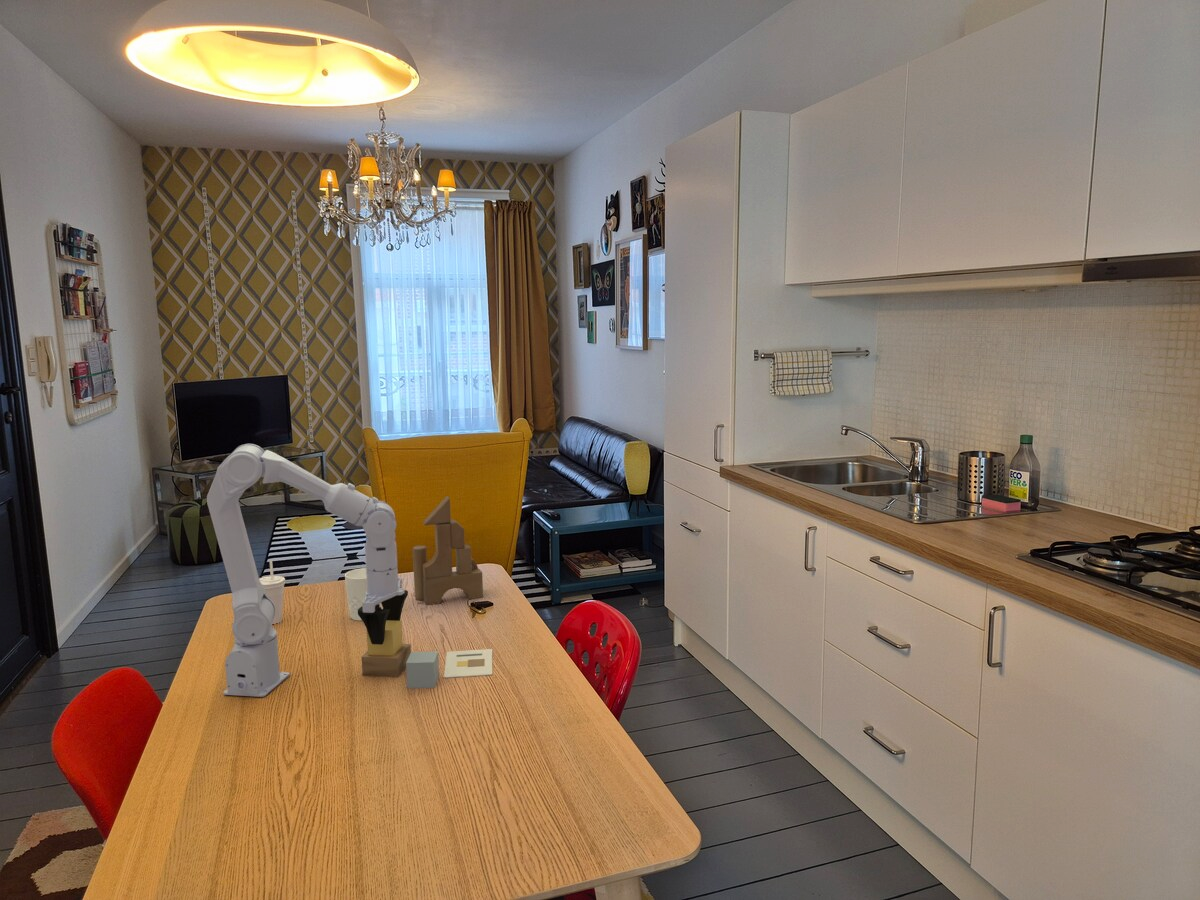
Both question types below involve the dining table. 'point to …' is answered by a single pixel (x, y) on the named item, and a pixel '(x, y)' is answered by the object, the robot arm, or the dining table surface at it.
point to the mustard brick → (388, 640)
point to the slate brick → (422, 670)
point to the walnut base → (386, 663)
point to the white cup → (356, 591)
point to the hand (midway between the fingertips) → (385, 635)
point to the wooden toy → (445, 561)
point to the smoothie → (274, 592)
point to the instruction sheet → (468, 663)
